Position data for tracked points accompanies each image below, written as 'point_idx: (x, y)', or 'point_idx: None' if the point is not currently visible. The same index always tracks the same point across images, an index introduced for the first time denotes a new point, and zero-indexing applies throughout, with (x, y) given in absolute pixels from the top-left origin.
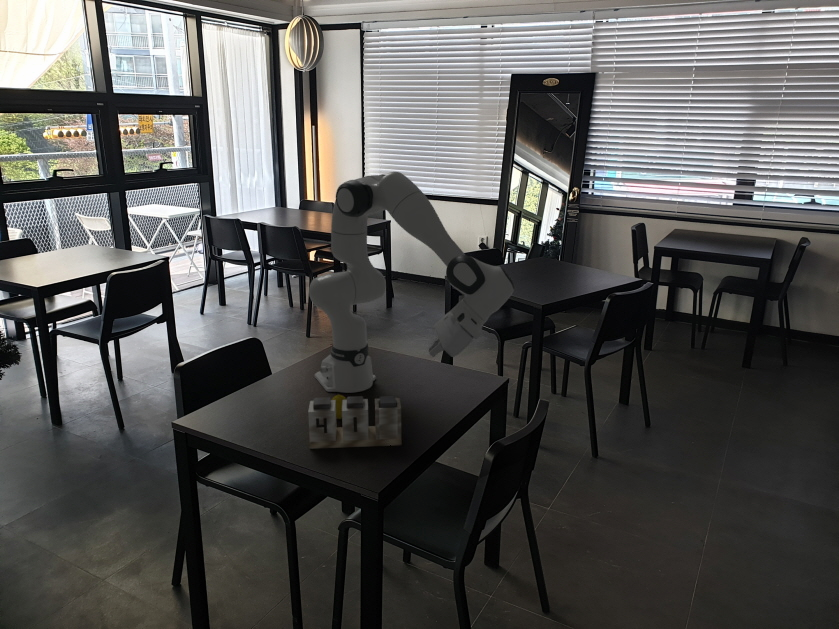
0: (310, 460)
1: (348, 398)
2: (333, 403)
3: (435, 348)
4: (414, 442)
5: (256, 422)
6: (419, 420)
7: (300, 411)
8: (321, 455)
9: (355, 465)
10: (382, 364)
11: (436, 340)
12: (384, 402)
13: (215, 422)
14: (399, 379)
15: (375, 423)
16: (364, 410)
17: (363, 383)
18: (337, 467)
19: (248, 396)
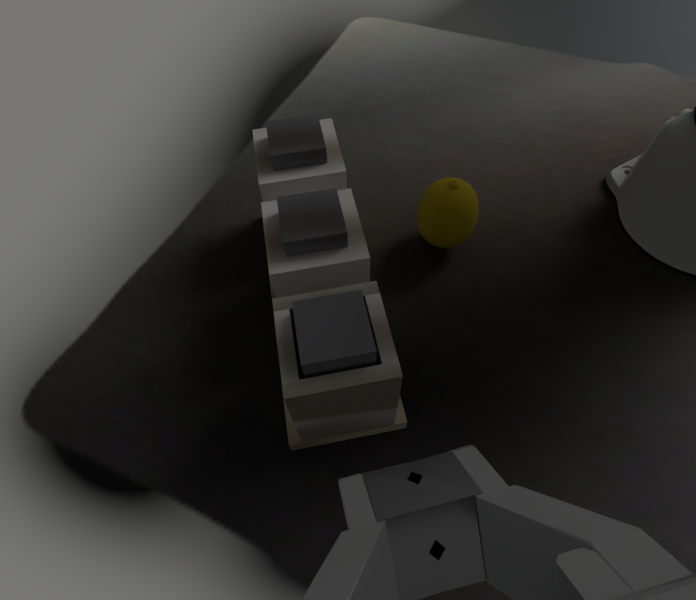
0: (204, 230)
1: (320, 194)
2: (317, 171)
3: (328, 567)
4: (315, 498)
5: (383, 101)
6: None
7: (461, 155)
8: (228, 246)
9: (168, 333)
10: None
11: (557, 563)
12: (300, 317)
13: (371, 52)
14: None
15: None
16: (269, 265)
17: (684, 246)
18: (162, 293)
19: (506, 59)
